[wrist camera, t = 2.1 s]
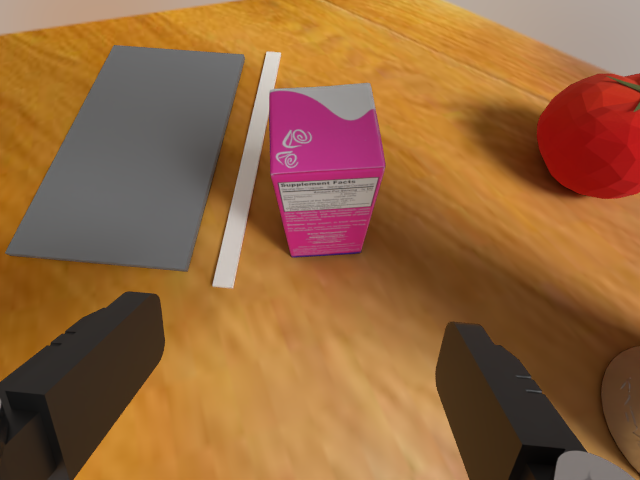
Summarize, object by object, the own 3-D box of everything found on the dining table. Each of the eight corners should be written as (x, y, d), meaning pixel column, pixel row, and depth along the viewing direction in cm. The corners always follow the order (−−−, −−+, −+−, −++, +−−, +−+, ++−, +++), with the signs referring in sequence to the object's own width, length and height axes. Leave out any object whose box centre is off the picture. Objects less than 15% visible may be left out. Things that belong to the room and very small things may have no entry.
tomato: (622, 233, 27) (743, 172, 19) (501, 180, 29) (567, 106, 21) (639, 155, 30) (748, 76, 23) (529, 112, 32) (595, 27, 25)
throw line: (281, 55, 35) (280, 52, 35) (233, 288, 25) (232, 287, 24) (267, 54, 35) (266, 51, 35) (213, 286, 25) (212, 285, 24)
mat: (244, 58, 35) (243, 54, 35) (187, 271, 25) (185, 269, 25) (116, 49, 35) (113, 45, 35) (10, 255, 26) (4, 253, 25)
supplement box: (285, 196, 28) (268, 83, 18) (354, 193, 28) (377, 79, 18) (287, 260, 26) (268, 172, 15) (362, 255, 26) (394, 166, 15)
